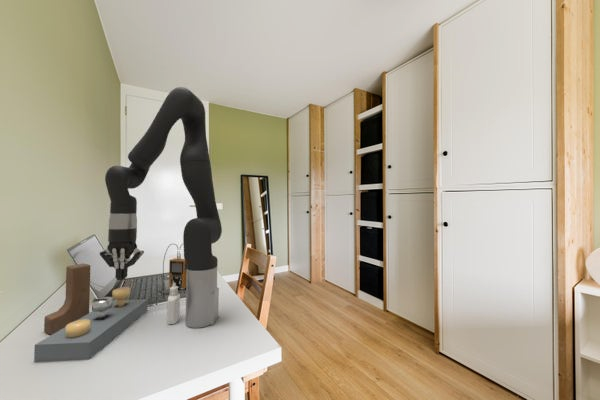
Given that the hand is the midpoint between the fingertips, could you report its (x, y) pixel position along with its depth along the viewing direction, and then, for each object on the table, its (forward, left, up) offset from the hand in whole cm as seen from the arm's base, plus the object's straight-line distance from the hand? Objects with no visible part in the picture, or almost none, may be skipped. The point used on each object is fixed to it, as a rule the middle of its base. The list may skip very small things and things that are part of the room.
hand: (121, 279), depth 78 cm
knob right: (0, 0, -9) cm, 9 cm away
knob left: (0, +17, -12) cm, 21 cm away
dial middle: (0, +9, -9) cm, 13 cm away
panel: (0, +9, -12) cm, 15 cm away
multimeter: (-7, -22, -13) cm, 27 cm away
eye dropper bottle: (-18, +4, -13) cm, 22 cm away
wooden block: (+12, +5, -13) cm, 18 cm away
